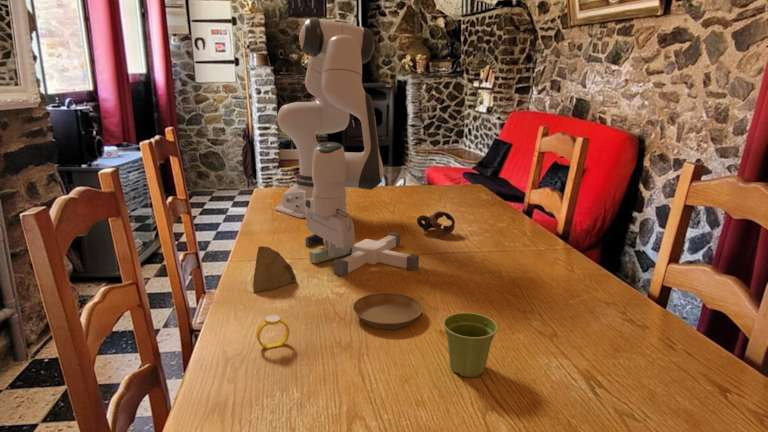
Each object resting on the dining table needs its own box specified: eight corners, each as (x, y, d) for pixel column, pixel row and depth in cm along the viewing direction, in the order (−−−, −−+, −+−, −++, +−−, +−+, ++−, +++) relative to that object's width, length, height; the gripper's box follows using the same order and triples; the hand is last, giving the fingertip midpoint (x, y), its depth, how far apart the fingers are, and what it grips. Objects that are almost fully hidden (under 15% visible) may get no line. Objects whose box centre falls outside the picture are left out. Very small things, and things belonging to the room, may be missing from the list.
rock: (299, 266, 131) (259, 261, 130) (300, 248, 124) (258, 242, 123) (293, 304, 125) (251, 300, 124) (293, 287, 118) (249, 282, 117)
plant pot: (436, 354, 96) (438, 312, 94) (485, 353, 97) (489, 311, 95) (446, 384, 87) (448, 338, 85) (500, 382, 88) (504, 337, 86)
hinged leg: (349, 250, 149) (349, 239, 148) (354, 252, 147) (354, 241, 146) (309, 261, 140) (309, 250, 139) (314, 263, 138) (314, 252, 137)
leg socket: (305, 246, 152) (305, 237, 151) (316, 241, 156) (315, 233, 156) (318, 249, 150) (317, 240, 149) (328, 244, 154) (328, 236, 153)
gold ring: (286, 341, 101) (287, 313, 100) (290, 347, 99) (291, 319, 97) (255, 345, 98) (255, 316, 97) (258, 352, 96) (259, 323, 95)
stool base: (321, 270, 135) (321, 256, 133) (380, 240, 158) (380, 227, 157) (387, 288, 125) (387, 272, 124) (439, 252, 148) (440, 239, 147)
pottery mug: (448, 229, 171) (457, 212, 166) (448, 250, 164) (457, 232, 159) (413, 220, 170) (421, 203, 164) (412, 241, 163) (420, 223, 157)
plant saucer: (370, 297, 120) (370, 287, 119) (431, 309, 115) (431, 299, 114) (340, 326, 107) (340, 314, 106) (407, 341, 101) (408, 329, 101)
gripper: (361, 212, 130) (361, 264, 134) (321, 196, 146) (322, 242, 150) (339, 216, 126) (339, 269, 130) (301, 199, 142) (302, 246, 146)
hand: (330, 255), depth 140 cm, fingers closed
